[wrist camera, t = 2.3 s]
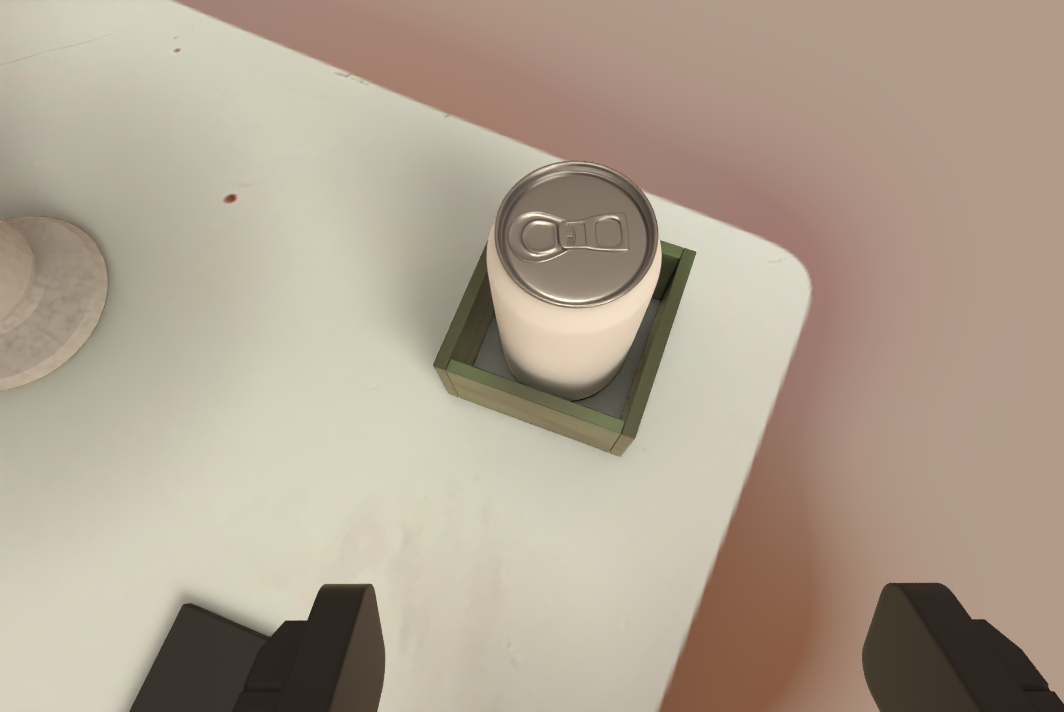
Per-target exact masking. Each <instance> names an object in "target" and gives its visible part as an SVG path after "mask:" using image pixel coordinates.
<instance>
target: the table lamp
mask: <svg viewBox="0 0 1064 712" xmlns="http://www.w3.org/2000/svg"><path fill="white" fill-rule="evenodd" d="M107 290H108V278H107V269H106V265H105V261H104V258H103V255H102V254H101V252H100V250H99V248H98V247H97V245H96V243H95V242H94V241H93V240H92V239H91V238H90V237H89V236H88V235H87V234H86V233H85V232H84V231H82V230H81V229H79V228H78V227H76V226H74V225H73V224H71V223H68V222H65V221H62V220H60V219H56V218H49V217H43V216H33V217H15V218H10V219H5V220H1V219H0V390H5V389H9V388H14V387H18V386H22V385H25V384H27V383H30V382H32V381H35V380H37V379H40V378H42V377H44V376H45V375H47V374H48V373H50V372H52V371H53V370H55V369H57V368H58V367H60V366H61V365H62V364H63V363H65V362H66V361H67V360H68V359H69V358H70V357H72V356H73V355H74V354H75V353H76V352H77V351H78V350H79V348H80V347H81V346H82V345H83V344H84V343H85V342H86V340H87V339H88V338H89V336H90V335H91V333H92V332H93V330H94V329H95V327H96V325H97V323H98V321H99V319H100V316H101V313H102V311H103V308H104V306H105V301H106V295H107Z"/></svg>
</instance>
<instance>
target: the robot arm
mask: <svg viewBox="0 0 1064 712" xmlns="http://www.w3.org/2000/svg"><path fill="white" fill-rule="evenodd" d="M862 663H863V670H864V675H865V679H866V682H867V685H868V688H869V690H870V692H871V694H872V696H873V698H874V700H875V702H876V704H877V706H878V708H879V710H880V712H1064V704H1063V703H1062V701H1061V700H1060V699H1059V697H1058V696H1057V695H1056V693H1055V692H1053V691H1050V690H1049V688H1048V683H1047V682H1046V681H1045V679H1044V678H1043V677H1042V675H1041V674H1040V673H1039V671H1038V670H1037V669H1036V668H1035V666H1034V665H1033V664H1032V662H1031V661H1030V660H1029V659H1028V657H1027V656H1026V655H1025V653H1024V652H1023V651H1022V649H1020V648H1019V647H1018V646H1017V645H1015V644H1014V643H1013V642H1011V641H1010V640H1009V639H1008V638H1007V637H1006V636H1004V635H1003V634H1002V633H1000V632H999V631H998V630H997V629H995V628H994V627H993V626H992V625H991V624H989V623H988V622H987V621H986V620H984V619H979V620H975V619H974V620H972V619H971V617H970V616H969V615H968V613H967V612H966V611H965V609H964V608H963V606H962V605H961V604H960V602H959V601H958V600H957V598H956V597H955V595H954V594H953V593H952V592H951V591H950V590H949V589H948V588H947V587H946V586H944V585H943V584H940V583H889V584H887V585H885V587H884V588H883V590H882V592H881V595H880V598H879V601H878V604H877V607H876V610H875V613H874V616H873V619H872V622H871V625H870V628H869V631H868V634H867V637H866V640H865V643H864V646H863V652H862ZM384 673H385V647H384V641H383V635H382V629H381V624H380V618H379V612H378V607H377V601H376V595H375V590H374V587H373V585H372V584H324V585H323V586H322V587H321V588H320V590H319V592H318V594H317V596H316V599H315V602H314V604H313V607H312V609H311V612H310V615H309V617H308V620H307V621H285V622H284V623H283V624H282V625H281V626H280V627H279V628H278V629H277V631H276V632H275V633H274V634H273V635H272V636H271V637H270V638H269V640H268V641H267V642H266V643H265V644H264V645H263V646H262V647H261V648H260V650H259V651H258V653H257V656H256V658H255V660H254V663H253V665H252V667H251V669H250V672H249V674H248V676H247V678H246V681H245V683H244V689H243V692H240V694H239V697H238V699H237V701H236V704H235V706H234V708H233V710H232V712H377V710H378V706H379V701H380V697H381V693H382V688H383V681H384Z"/></svg>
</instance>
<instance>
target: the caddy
mask: <svg viewBox="0 0 1064 712" xmlns="http://www.w3.org/2000/svg"><path fill="white" fill-rule="evenodd" d="M487 243H488V241H487ZM487 243H486V245H485V248H484V250H483V252H482V255H481V257H480V259H479V261H478V264H477V266H476V268H475V271H474V273H473V275H472V277H471V280H470V282H469V284H468V287H467V289H466V291H465V293H464V296H463V298H462V300H461V303H460V305H459V307H458V309H457V312H456V314H455V316H454V319H453V321H452V323H451V325H450V328H449V330H448V332H447V335H446V337H445V339H444V341H443V344H442V346H441V348H440V351H439V353H438V355H437V357H436V360H435V362H434V364H433V366H434V368H435V370H436V371H437V373H438V375H439V377H440V379H441V380H442V382H443V384H444V386H445V387H446V389H447V391H448V393H449V394H451V395H454V396H457V397H460V398H462V399H465V400H468V401H471V402H473V403H476V404H479V405H481V406H484V407H487V408H490V409H492V410H495V411H498V412H500V413H503V414H506V415H509V416H511V417H514V418H517V419H520V420H522V421H525V422H528V423H530V424H533V425H536V426H539V427H541V428H544V429H547V430H550V431H552V432H555V433H558V434H560V435H563V436H566V437H569V438H571V439H574V440H577V441H580V442H582V443H585V444H588V445H590V446H593V447H596V448H599V449H601V450H604V451H607V452H609V451H610V453H612V454H615V455H617V456H621V455H622V454H623V453H624V452H625V450H626V449H627V448H628V446H629V445H630V444H631V443H632V441H633V440H634V439H635V437H636V434H637V431H638V428H639V425H640V422H641V419H642V416H643V413H644V410H645V407H646V404H647V401H648V398H649V395H650V391H651V388H652V385H653V382H654V379H655V376H656V373H657V370H658V367H659V364H660V361H661V358H662V355H663V352H664V349H665V346H666V343H667V340H668V337H669V334H670V331H671V328H672V325H673V322H674V319H675V316H676V313H677V310H678V307H679V304H680V301H681V297H682V294H683V291H684V288H685V285H686V282H687V279H688V276H689V273H690V270H691V267H692V264H693V261H694V258H695V255H696V252H695V251H692V250H689V249H686V248H684V249H683V248H682V247H679V246H676V245H673V244H670V243H667V242H664V241H661V240H660V243H661V253H662V259H661V268H660V274H659V278H658V281H657V284H656V287H655V290H654V293H653V295H652V297H653V298H656V299H659V300H661V302H660V304H659V307H658V310H657V313H656V316H655V319H654V322H653V325H652V328H651V331H650V334H649V337H648V340H647V343H646V346H645V349H644V352H643V355H642V357H641V360H640V363H639V366H638V369H637V372H636V375H635V378H634V381H633V384H632V387H631V390H630V393H629V396H628V399H627V402H626V405H625V408H624V410H623V413H622V416H621V419H618V418H615V417H613V416H610V415H607V414H604V413H601V412H599V411H596V410H593V409H590V408H588V407H585V406H582V405H579V404H576V403H574V402H571V401H568V400H565V399H562V398H560V397H557V396H554V395H551V394H549V393H546V392H543V391H540V390H537V389H535V388H532V387H529V386H526V385H524V384H521V383H518V382H515V381H512V380H510V379H507V378H504V377H501V376H499V375H496V374H493V373H490V372H487V371H485V370H482V369H479V368H476V367H474V366H472V365H473V363H474V360H475V358H476V355H477V353H478V351H479V348H480V346H481V344H482V341H483V339H484V336H485V334H486V332H487V329H488V327H489V324H490V322H491V320H492V317H493V315H494V313H495V309H494V304H493V299H492V293H491V288H490V282H489V276H488V269H487Z"/></svg>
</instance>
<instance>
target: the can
mask: <svg viewBox="0 0 1064 712" xmlns="http://www.w3.org/2000/svg"><path fill="white" fill-rule="evenodd" d="M661 259H662V253H661V243H660V239H659V235H658V226H657V220H656V216H655V213H654V211H653V208H652V206H651V204H650V202H649V200H648V199H647V197H646V196H645V194H644V193H643V192H642V191H641V189H640V188H639V187H638V186H637V185H636V184H634V182H632V181H631V180H630V179H629V178H627V177H626V176H624V175H623V174H621V173H620V172H618V171H616V170H614V169H612V168H609V167H607V166H604V165H601V164H597V163H593V162H586V161H564V162H558V163H553V164H550V165H547V166H544V167H541V168H539V169H537V170H535V171H533V172H531V173H529V174H528V175H526V176H525V177H524V178H522V179H521V180H520V181H519V182H517V183H516V184H515V185H514V186H513V187H512V189H511V190H510V191H509V192H508V194H507V195H506V196H505V198H504V200H503V201H502V203H501V205H500V208H499V210H498V213H497V217H496V219H495V221H494V223H493V225H492V228H491V231H490V234H489V238H488V243H487V269H488V276H489V282H490V288H491V293H492V299H493V304H494V309H495V315H496V320H497V325H498V330H499V335H500V340H501V345H502V349H503V353H504V357H505V360H506V362H507V365H508V367H509V369H510V371H511V372H512V374H513V375H514V377H515V378H516V379H517V380H518V381H519V382H520V383H521V384H524V385H526V386H529V387H532V388H535V389H537V390H540V391H543V392H546V393H549V394H551V395H554V396H557V397H560V398H562V399H565V400H568V401H573V400H579V399H583V398H586V397H589V396H591V395H593V394H595V393H597V392H599V391H600V390H602V389H603V388H605V387H606V386H607V385H608V384H609V383H610V382H611V381H612V380H613V379H614V378H615V376H616V375H617V374H618V372H619V370H620V369H621V367H622V365H623V363H624V361H625V359H626V356H627V354H628V352H629V350H630V347H631V345H632V343H633V340H634V338H635V336H636V333H637V331H638V329H639V326H640V324H641V322H642V319H643V317H644V314H645V312H646V310H647V307H648V305H649V302H650V300H651V298H652V295H653V293H654V290H655V287H656V284H657V281H658V278H659V274H660V268H661Z"/></svg>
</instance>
